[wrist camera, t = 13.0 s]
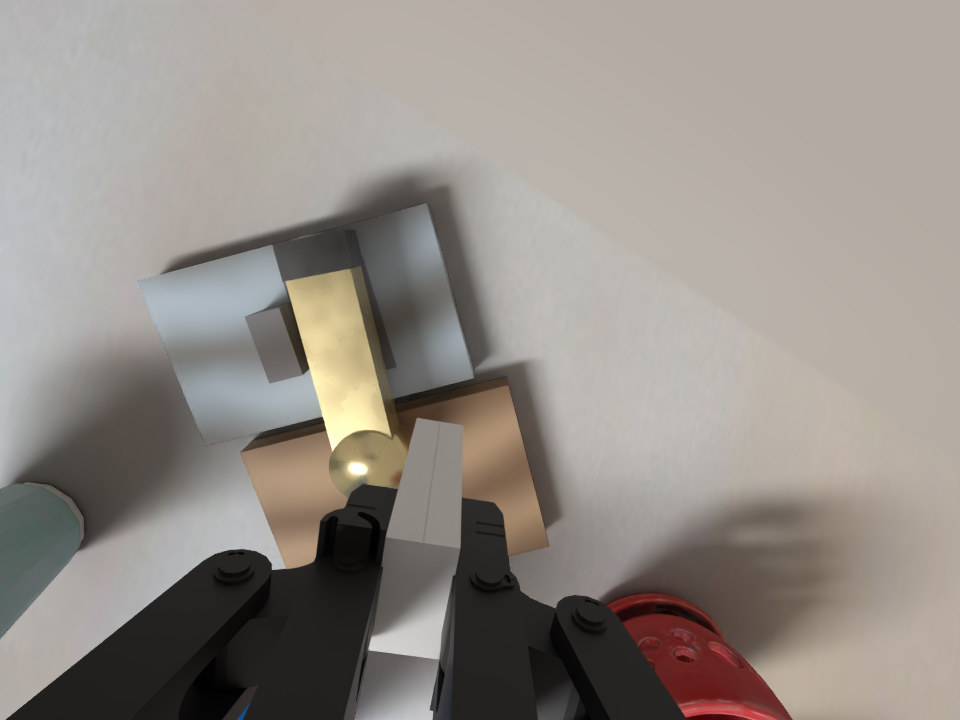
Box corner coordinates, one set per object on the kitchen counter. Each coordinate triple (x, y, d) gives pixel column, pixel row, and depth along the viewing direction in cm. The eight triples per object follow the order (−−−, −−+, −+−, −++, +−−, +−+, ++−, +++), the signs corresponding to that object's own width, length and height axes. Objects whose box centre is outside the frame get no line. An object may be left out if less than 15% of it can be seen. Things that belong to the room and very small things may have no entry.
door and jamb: (156, 277, 34) (103, 286, 29) (460, 196, 33) (458, 190, 28) (283, 592, 39) (257, 643, 34) (545, 530, 38) (556, 573, 34)
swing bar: (418, 470, 34) (413, 496, 31) (352, 482, 34) (339, 509, 31) (361, 228, 30) (348, 228, 27) (287, 243, 30) (264, 244, 27)
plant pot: (758, 640, 41) (872, 803, 30) (631, 737, 43) (691, 925, 32) (650, 536, 39) (727, 668, 27) (521, 644, 41) (541, 810, 29)
